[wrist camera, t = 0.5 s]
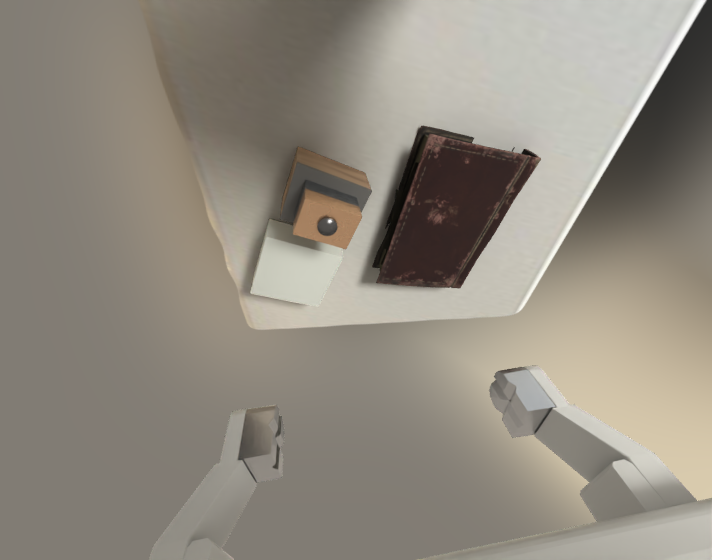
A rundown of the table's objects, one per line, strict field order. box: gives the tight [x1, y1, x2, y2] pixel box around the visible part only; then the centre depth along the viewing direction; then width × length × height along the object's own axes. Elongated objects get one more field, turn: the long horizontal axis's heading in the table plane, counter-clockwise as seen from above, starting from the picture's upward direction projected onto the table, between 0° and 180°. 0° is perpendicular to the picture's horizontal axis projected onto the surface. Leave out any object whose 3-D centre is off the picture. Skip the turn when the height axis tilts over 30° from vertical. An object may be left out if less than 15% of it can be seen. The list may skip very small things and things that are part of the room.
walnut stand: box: [280, 147, 372, 223], centre depth 41 cm, size 8×10×6 cm
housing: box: [293, 179, 362, 249], centre depth 37 cm, size 5×7×5 cm
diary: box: [372, 126, 541, 288], centre depth 48 cm, size 19×25×5 cm
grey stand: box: [250, 219, 343, 307], centre depth 50 cm, size 12×12×5 cm
